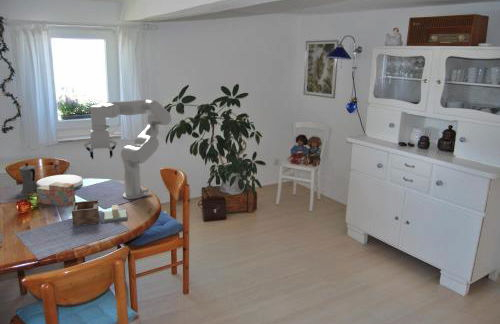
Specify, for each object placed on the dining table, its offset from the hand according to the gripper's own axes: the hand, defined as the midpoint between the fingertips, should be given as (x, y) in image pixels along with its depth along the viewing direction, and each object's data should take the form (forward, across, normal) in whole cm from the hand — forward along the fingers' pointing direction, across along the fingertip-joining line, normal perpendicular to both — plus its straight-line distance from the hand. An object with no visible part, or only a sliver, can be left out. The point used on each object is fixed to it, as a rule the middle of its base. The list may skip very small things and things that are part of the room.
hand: (101, 158), depth 232 cm
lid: (+28, -5, +20) cm, 34 cm away
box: (+28, +10, +20) cm, 36 cm away
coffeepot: (+28, +46, -40) cm, 67 cm away
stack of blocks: (+29, +27, -11) cm, 41 cm away
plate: (+29, +29, -44) cm, 60 cm away
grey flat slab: (+28, -4, +20) cm, 35 cm away
